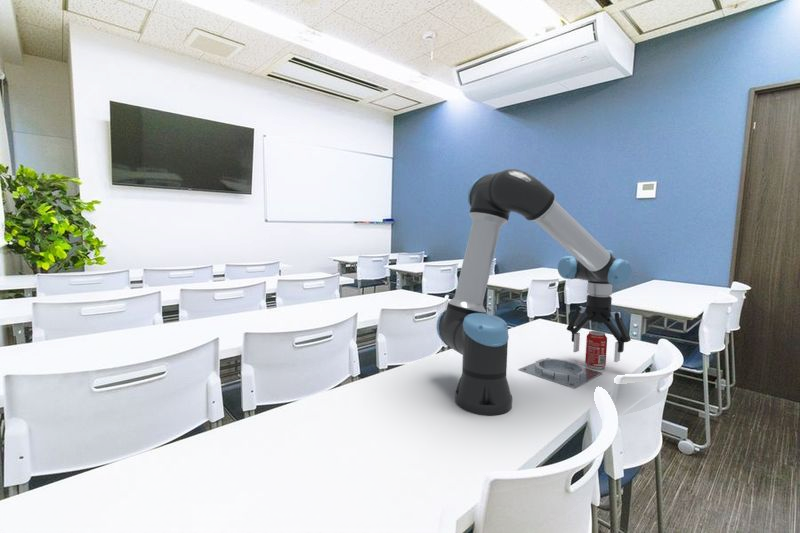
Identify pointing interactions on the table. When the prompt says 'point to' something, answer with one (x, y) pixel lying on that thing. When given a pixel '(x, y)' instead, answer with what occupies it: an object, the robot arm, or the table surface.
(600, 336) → the beverage can
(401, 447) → the table surface
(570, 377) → the duct flange
